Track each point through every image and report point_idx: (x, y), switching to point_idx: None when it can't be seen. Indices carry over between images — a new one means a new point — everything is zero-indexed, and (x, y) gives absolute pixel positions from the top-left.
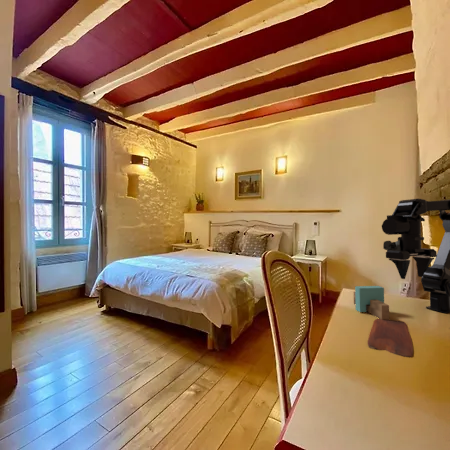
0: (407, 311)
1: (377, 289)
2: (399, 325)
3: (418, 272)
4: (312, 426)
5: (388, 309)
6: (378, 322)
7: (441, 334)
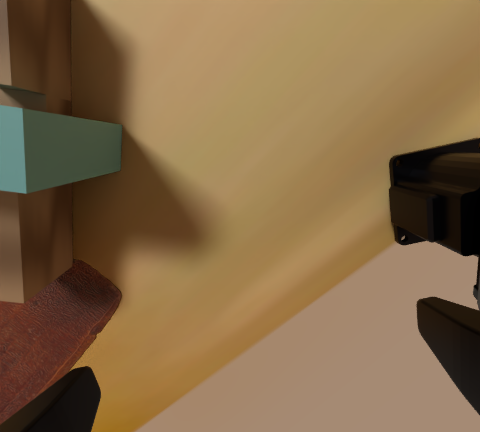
0: (252, 179)
1: None
2: (63, 333)
3: (460, 337)
4: None
5: (36, 290)
6: None
7: (164, 398)
